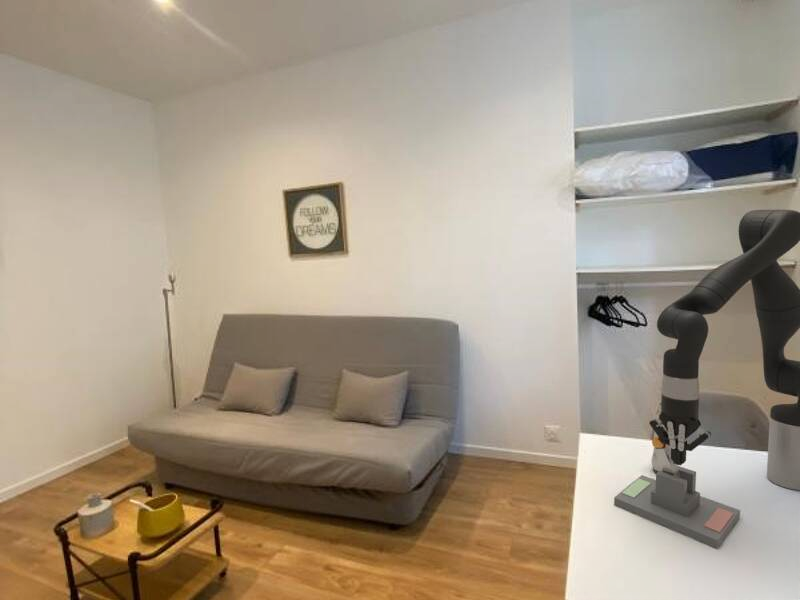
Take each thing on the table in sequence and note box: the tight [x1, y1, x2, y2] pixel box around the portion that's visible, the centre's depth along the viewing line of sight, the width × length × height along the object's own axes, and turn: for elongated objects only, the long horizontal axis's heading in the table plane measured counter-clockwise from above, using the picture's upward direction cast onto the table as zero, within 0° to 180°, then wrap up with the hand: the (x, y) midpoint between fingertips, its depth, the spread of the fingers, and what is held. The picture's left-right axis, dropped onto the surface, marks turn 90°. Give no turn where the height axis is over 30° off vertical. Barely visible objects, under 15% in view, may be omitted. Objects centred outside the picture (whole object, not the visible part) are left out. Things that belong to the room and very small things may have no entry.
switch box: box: [613, 465, 741, 550], centre depth 106 cm, size 16×22×10 cm
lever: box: [651, 436, 681, 478], centre depth 107 cm, size 3×3×13 cm
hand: (678, 463), depth 105 cm, fingers closed
